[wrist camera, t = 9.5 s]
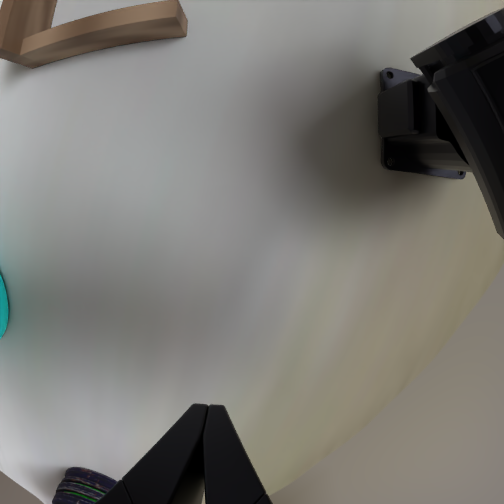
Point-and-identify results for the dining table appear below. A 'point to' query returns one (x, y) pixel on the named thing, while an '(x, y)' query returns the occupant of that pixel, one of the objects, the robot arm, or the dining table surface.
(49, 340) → the dining table surface
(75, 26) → the walnut corral
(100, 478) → the storage jar
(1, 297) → the donuts
